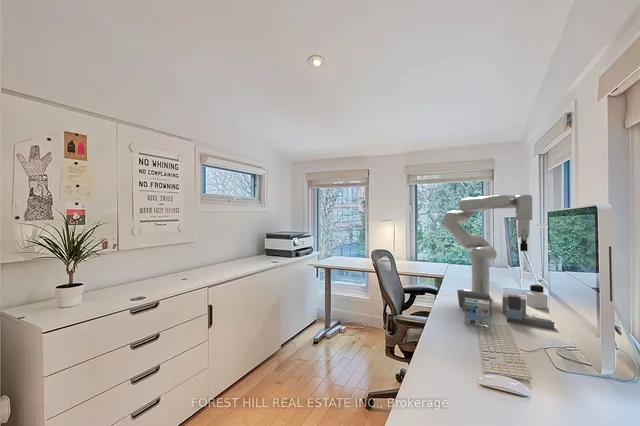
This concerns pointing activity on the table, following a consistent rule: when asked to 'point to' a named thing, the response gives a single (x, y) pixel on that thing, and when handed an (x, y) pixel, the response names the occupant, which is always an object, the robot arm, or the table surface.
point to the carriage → (514, 307)
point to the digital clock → (471, 297)
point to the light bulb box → (476, 312)
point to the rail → (533, 322)
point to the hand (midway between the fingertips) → (523, 250)
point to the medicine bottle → (536, 297)
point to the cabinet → (505, 304)
